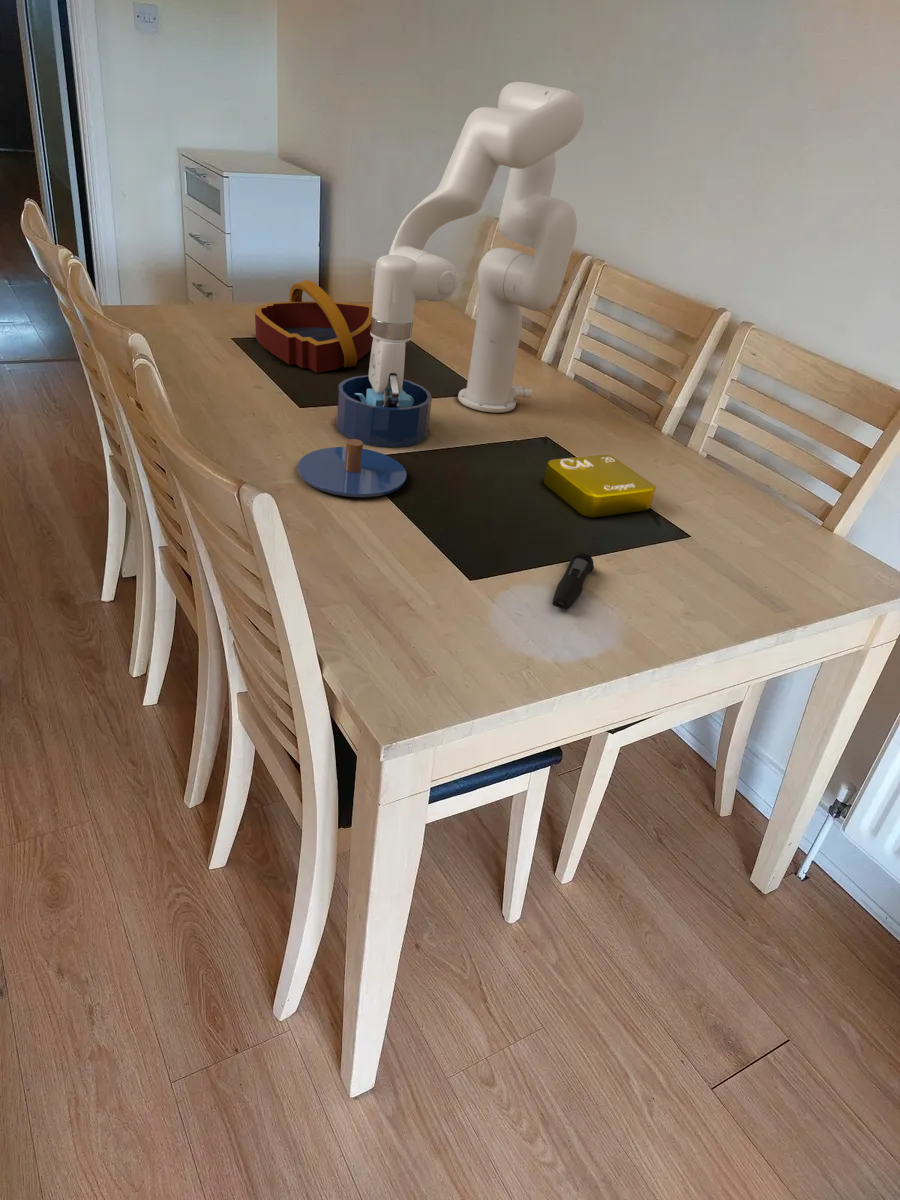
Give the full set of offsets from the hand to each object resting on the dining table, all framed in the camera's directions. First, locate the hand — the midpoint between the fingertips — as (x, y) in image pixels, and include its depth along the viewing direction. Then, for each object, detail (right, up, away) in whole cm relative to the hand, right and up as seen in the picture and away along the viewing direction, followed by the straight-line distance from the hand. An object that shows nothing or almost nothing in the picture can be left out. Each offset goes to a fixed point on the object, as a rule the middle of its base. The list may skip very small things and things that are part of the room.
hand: (383, 417), depth 168 cm
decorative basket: (-18, +24, +37) cm, 48 cm away
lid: (-4, -13, -18) cm, 23 cm away
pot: (0, -2, +1) cm, 2 cm away
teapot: (0, -2, +1) cm, 2 cm away
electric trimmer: (+31, -34, -40) cm, 61 cm away
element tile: (+39, -17, -12) cm, 44 cm away
